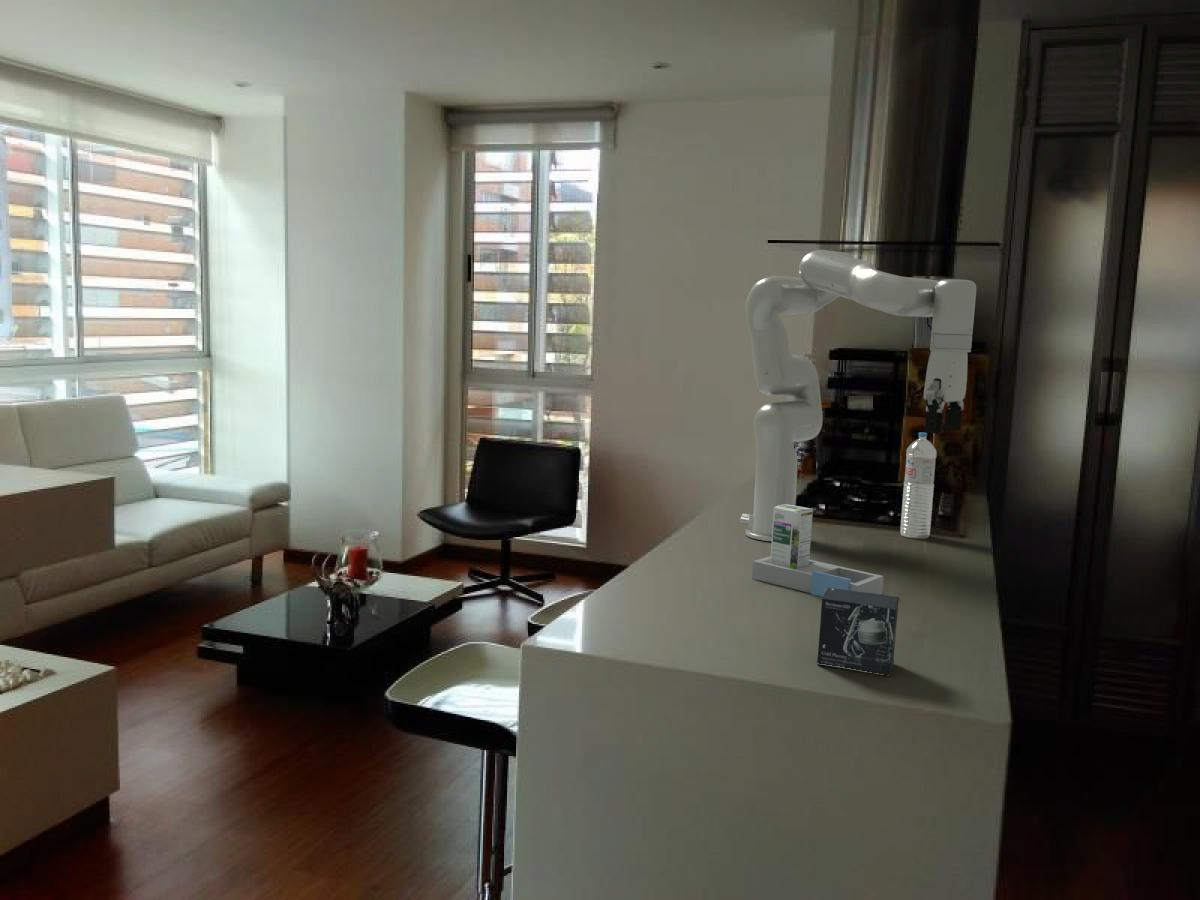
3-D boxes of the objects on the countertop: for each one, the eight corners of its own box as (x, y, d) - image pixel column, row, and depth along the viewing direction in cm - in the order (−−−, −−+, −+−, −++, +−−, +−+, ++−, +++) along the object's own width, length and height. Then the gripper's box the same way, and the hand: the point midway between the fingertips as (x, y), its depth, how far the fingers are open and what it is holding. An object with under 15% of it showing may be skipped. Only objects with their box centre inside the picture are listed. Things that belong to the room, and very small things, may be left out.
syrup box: (767, 579, 187) (772, 506, 185) (784, 574, 191) (788, 502, 189) (793, 585, 183) (797, 511, 181) (809, 580, 187) (814, 507, 185)
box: (815, 666, 140) (820, 597, 139) (822, 652, 147) (826, 586, 145) (891, 678, 137) (896, 607, 135) (894, 663, 143) (899, 595, 141)
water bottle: (931, 540, 226) (940, 435, 223) (901, 538, 227) (909, 433, 224) (927, 534, 233) (936, 432, 229) (898, 532, 234) (906, 430, 231)
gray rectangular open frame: (750, 579, 187) (751, 557, 186) (779, 570, 194) (780, 548, 194) (854, 605, 172) (856, 581, 171) (882, 594, 179) (883, 571, 179)
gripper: (949, 343, 195) (941, 426, 198) (913, 343, 182) (906, 432, 185) (986, 344, 190) (978, 430, 193) (952, 344, 178) (944, 436, 180)
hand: (943, 431), depth 189 cm, fingers open, 9 cm apart
